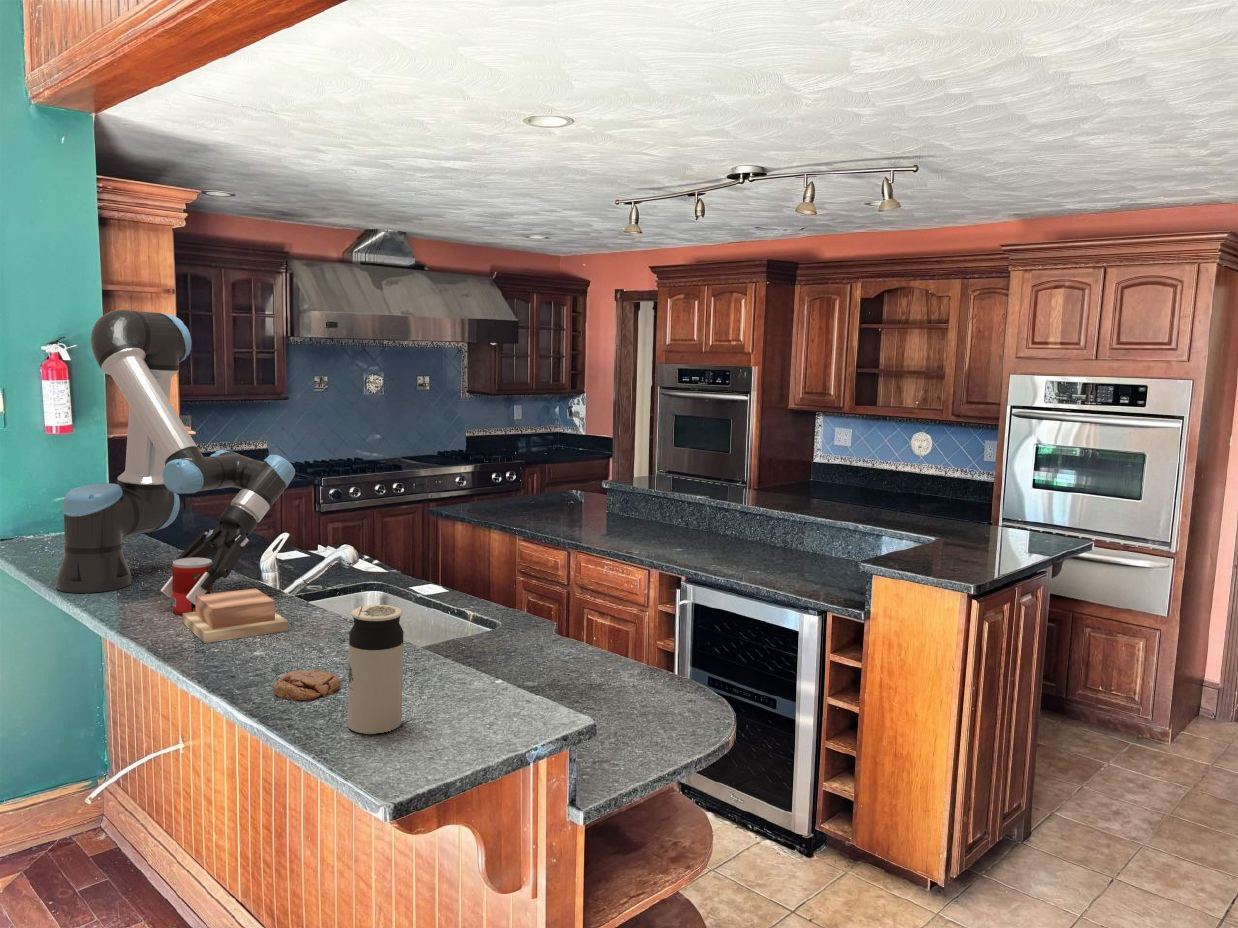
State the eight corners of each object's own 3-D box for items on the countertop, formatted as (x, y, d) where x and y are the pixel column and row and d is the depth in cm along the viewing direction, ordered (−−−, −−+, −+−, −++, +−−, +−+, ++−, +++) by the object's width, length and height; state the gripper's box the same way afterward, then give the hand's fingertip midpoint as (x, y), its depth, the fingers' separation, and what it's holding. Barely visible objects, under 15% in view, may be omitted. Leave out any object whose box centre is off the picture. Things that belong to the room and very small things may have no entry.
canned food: (197, 617, 188) (197, 566, 187) (164, 613, 190) (163, 563, 188) (220, 608, 196) (220, 559, 194) (188, 604, 197) (188, 556, 196)
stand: (182, 622, 184) (182, 594, 183) (261, 612, 194) (262, 585, 194) (204, 643, 172) (204, 612, 171) (288, 630, 182) (288, 602, 181)
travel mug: (406, 716, 141) (408, 605, 139) (395, 736, 133) (397, 619, 131) (355, 714, 141) (357, 603, 139) (341, 734, 133) (343, 617, 131)
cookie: (350, 692, 151) (350, 675, 150) (288, 707, 143) (289, 689, 143) (323, 676, 158) (323, 660, 157) (263, 689, 150) (263, 672, 150)
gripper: (284, 530, 199) (220, 615, 187) (224, 518, 209) (160, 599, 197) (264, 509, 194) (197, 595, 182) (204, 498, 204) (136, 579, 192)
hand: (178, 597), depth 189 cm, fingers closed on canned food, 8 cm apart
